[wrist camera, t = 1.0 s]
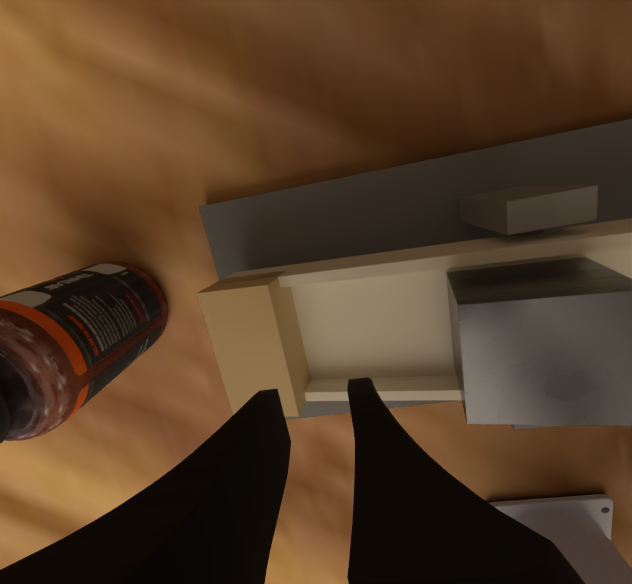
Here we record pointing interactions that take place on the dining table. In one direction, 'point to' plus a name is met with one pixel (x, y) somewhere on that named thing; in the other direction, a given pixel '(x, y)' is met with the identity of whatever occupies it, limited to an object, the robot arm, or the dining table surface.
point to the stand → (429, 208)
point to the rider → (543, 343)
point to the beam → (370, 315)
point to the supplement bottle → (72, 342)
